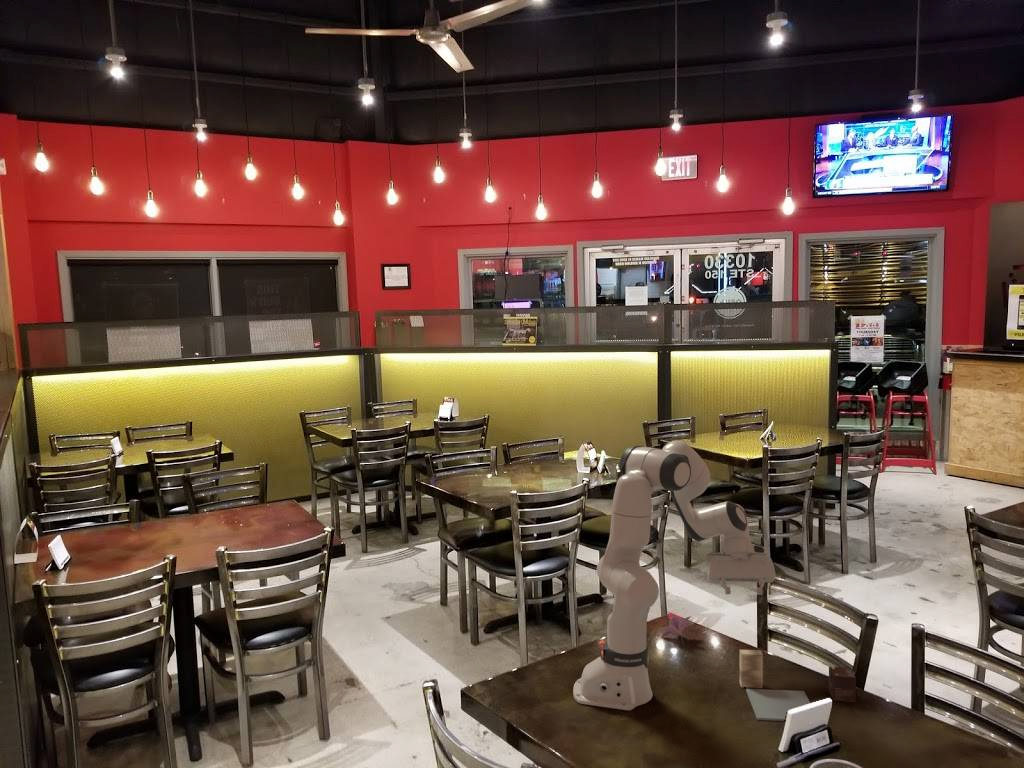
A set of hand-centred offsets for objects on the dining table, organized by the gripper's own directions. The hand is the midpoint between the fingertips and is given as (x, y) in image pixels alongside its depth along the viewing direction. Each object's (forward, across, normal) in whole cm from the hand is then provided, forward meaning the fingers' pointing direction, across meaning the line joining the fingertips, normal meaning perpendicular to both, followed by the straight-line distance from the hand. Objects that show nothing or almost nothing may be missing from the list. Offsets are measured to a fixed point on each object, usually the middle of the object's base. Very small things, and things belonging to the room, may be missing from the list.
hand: (743, 593), depth 229 cm
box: (+28, +24, +4) cm, 37 cm away
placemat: (+33, +6, -1) cm, 34 cm away
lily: (+4, -19, +28) cm, 34 cm away
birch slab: (+25, 0, +7) cm, 26 cm away
